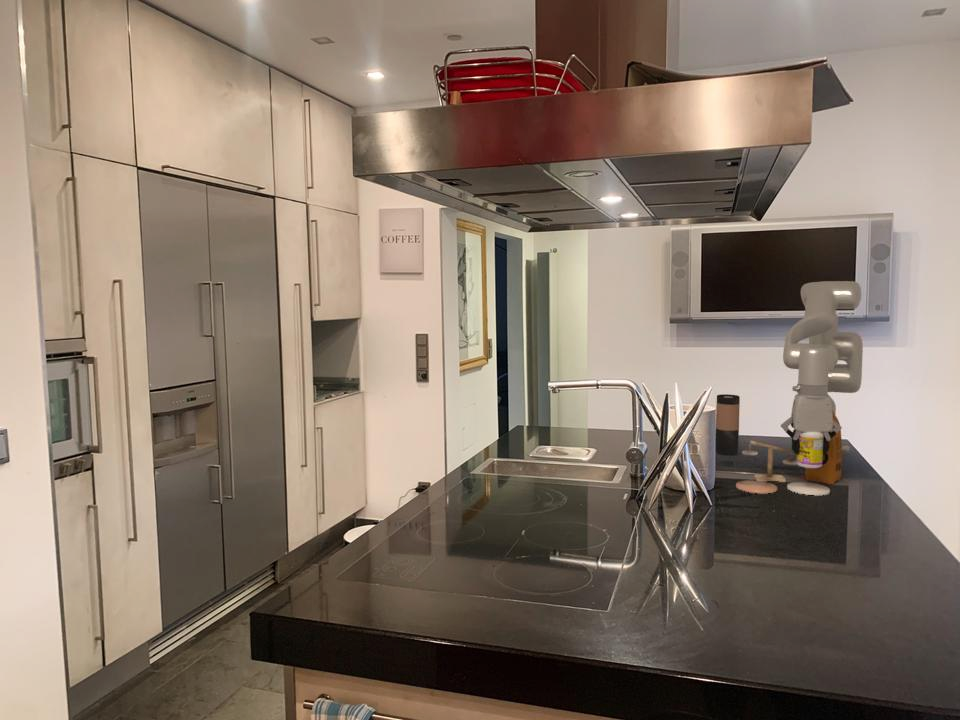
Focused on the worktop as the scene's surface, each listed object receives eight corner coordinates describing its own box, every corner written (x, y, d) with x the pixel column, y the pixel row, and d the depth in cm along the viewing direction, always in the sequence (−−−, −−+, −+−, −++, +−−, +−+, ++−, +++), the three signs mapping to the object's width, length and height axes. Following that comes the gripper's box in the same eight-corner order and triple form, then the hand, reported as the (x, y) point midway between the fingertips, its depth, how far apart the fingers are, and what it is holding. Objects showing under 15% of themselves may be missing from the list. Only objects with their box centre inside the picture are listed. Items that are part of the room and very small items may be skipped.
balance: (795, 478, 213) (797, 440, 212) (800, 482, 208) (801, 443, 207) (739, 476, 215) (741, 438, 214) (742, 480, 211) (744, 442, 210)
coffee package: (798, 480, 211) (801, 407, 209) (810, 471, 221) (813, 402, 218) (835, 486, 205) (838, 411, 203) (845, 477, 214) (848, 405, 212)
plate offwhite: (822, 485, 205) (822, 482, 205) (835, 496, 195) (835, 493, 194) (782, 484, 207) (782, 481, 207) (793, 495, 196) (793, 492, 196)
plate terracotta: (771, 483, 207) (771, 481, 207) (781, 494, 197) (782, 491, 196) (732, 482, 209) (732, 479, 209) (740, 493, 198) (740, 490, 198)
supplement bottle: (791, 464, 202) (792, 419, 201) (810, 462, 204) (812, 418, 203) (807, 469, 196) (809, 423, 195) (827, 467, 198) (829, 422, 196)
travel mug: (740, 452, 247) (742, 395, 245) (735, 456, 241) (737, 398, 239) (717, 449, 251) (719, 393, 249) (712, 453, 245) (714, 396, 243)
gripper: (783, 392, 195) (780, 455, 197) (850, 393, 193) (847, 457, 195) (776, 388, 203) (773, 449, 205) (840, 389, 200) (837, 451, 202)
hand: (809, 453), depth 200 cm, fingers closed on supplement bottle, 6 cm apart
